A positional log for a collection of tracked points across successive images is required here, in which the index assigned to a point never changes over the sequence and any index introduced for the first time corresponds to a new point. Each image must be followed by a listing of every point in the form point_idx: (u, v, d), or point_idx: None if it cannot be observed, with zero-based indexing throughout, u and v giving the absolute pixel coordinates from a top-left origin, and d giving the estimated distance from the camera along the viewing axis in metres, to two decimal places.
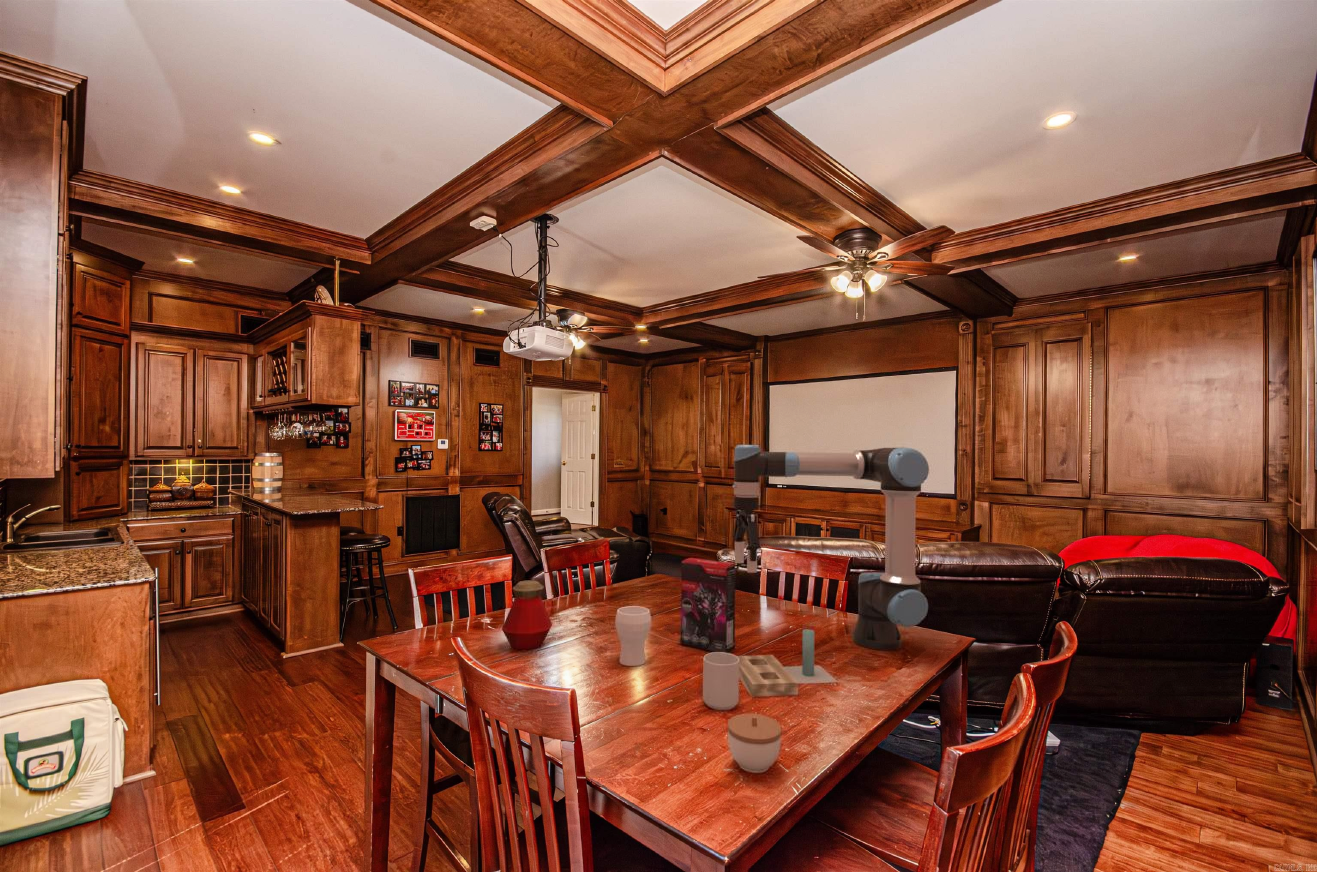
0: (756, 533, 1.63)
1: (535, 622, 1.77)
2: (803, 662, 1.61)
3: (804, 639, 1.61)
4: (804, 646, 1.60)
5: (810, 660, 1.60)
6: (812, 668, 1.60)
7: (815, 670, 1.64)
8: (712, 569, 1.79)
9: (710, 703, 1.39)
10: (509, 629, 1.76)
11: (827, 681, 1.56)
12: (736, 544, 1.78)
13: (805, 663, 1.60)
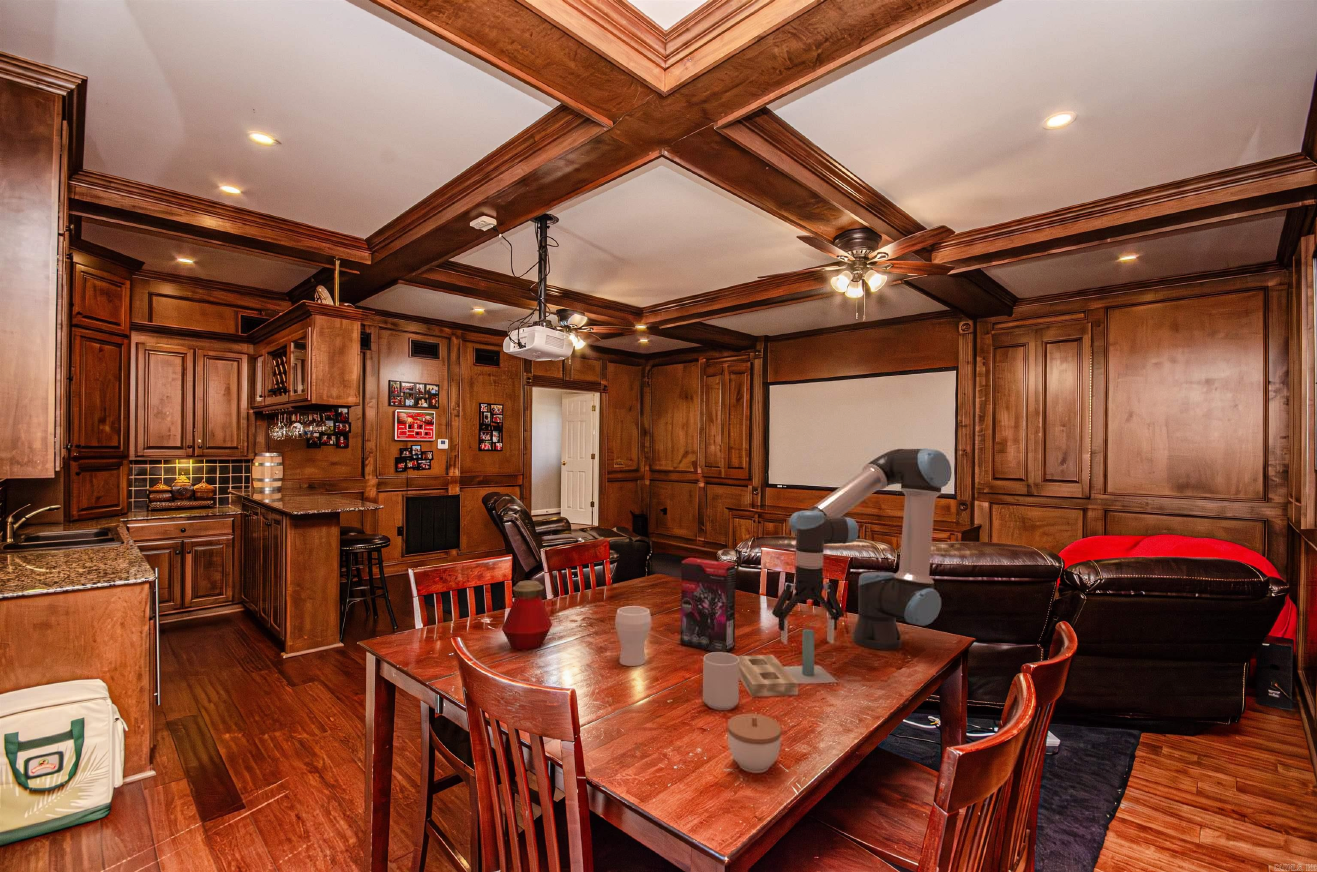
0: (780, 602, 1.60)
1: (535, 622, 1.77)
2: (803, 662, 1.61)
3: (804, 639, 1.61)
4: (804, 646, 1.60)
5: (810, 660, 1.60)
6: (812, 668, 1.60)
7: (815, 670, 1.64)
8: (712, 569, 1.79)
9: (710, 703, 1.39)
10: (509, 629, 1.76)
11: (827, 681, 1.56)
12: (828, 620, 1.63)
13: (805, 663, 1.60)
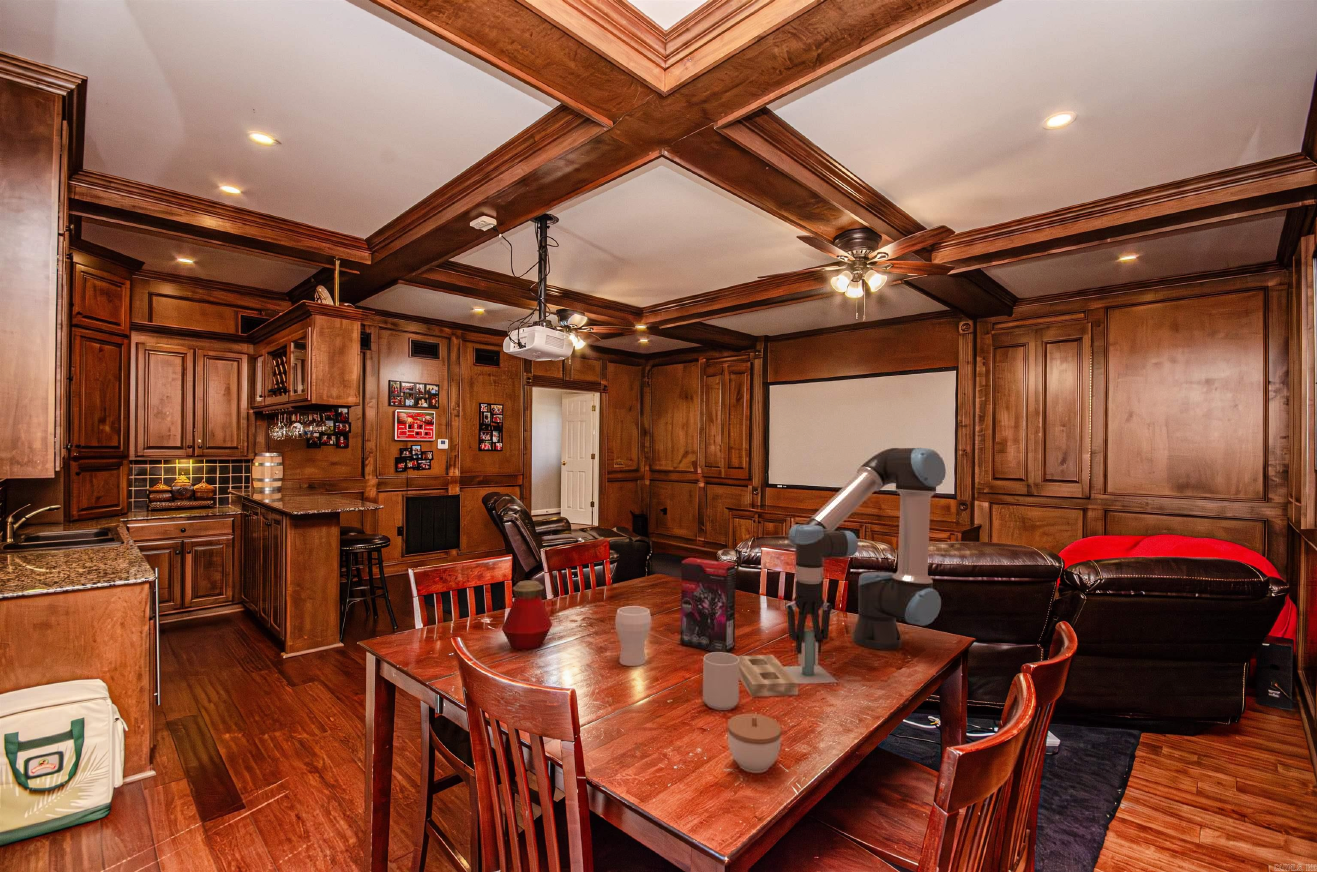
0: (790, 625, 1.60)
1: (535, 622, 1.77)
2: None
3: (804, 639, 1.61)
4: None
5: (809, 660, 1.60)
6: (812, 668, 1.60)
7: (815, 670, 1.64)
8: (712, 569, 1.79)
9: (710, 703, 1.39)
10: (509, 629, 1.76)
11: (827, 681, 1.56)
12: None
13: (805, 663, 1.60)
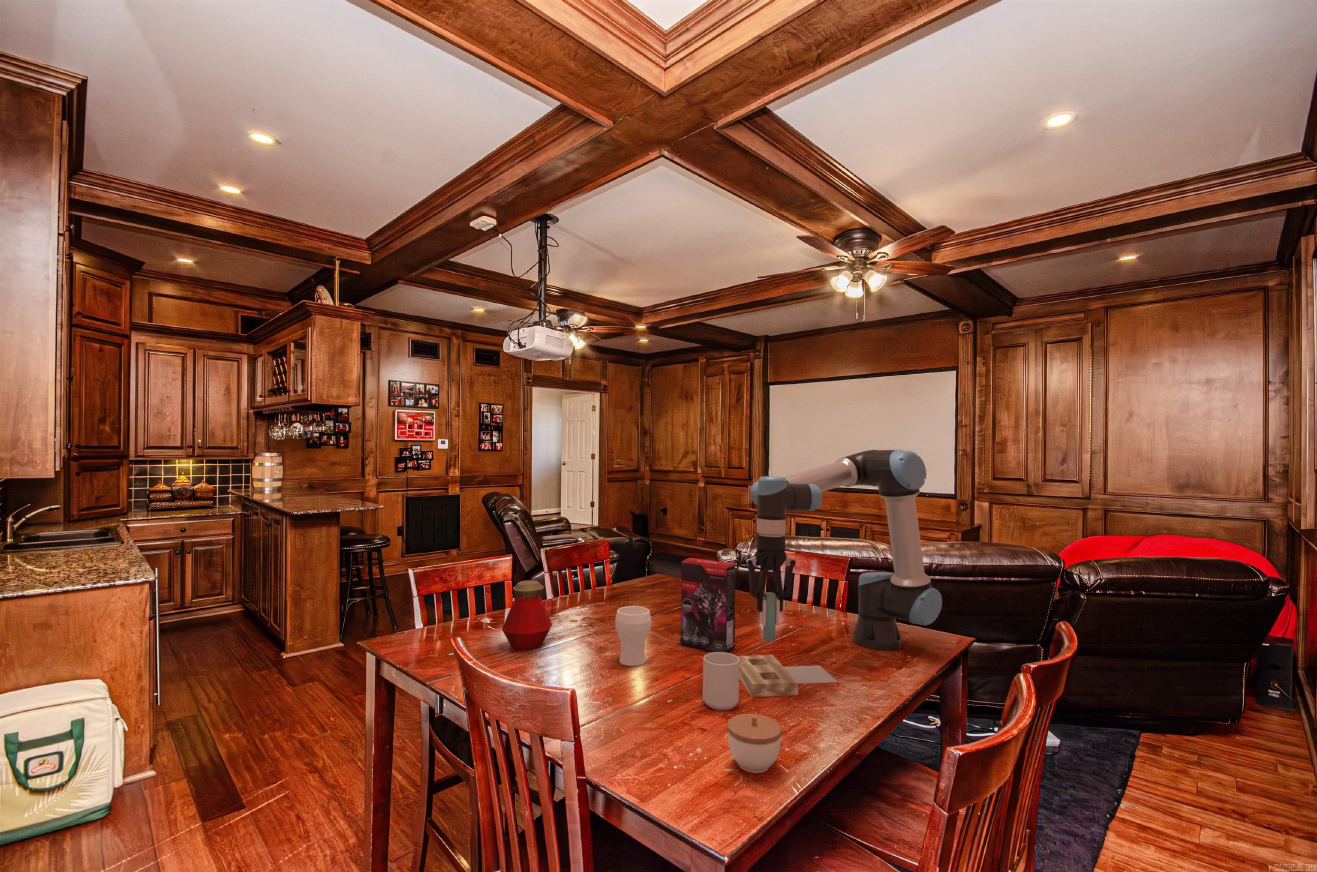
0: (751, 581, 1.51)
1: (535, 622, 1.77)
2: (764, 627, 1.51)
3: None
4: None
5: (770, 624, 1.50)
6: (773, 633, 1.50)
7: (815, 670, 1.64)
8: (712, 569, 1.79)
9: (710, 703, 1.39)
10: (509, 629, 1.76)
11: (827, 681, 1.56)
12: None
13: (766, 627, 1.51)
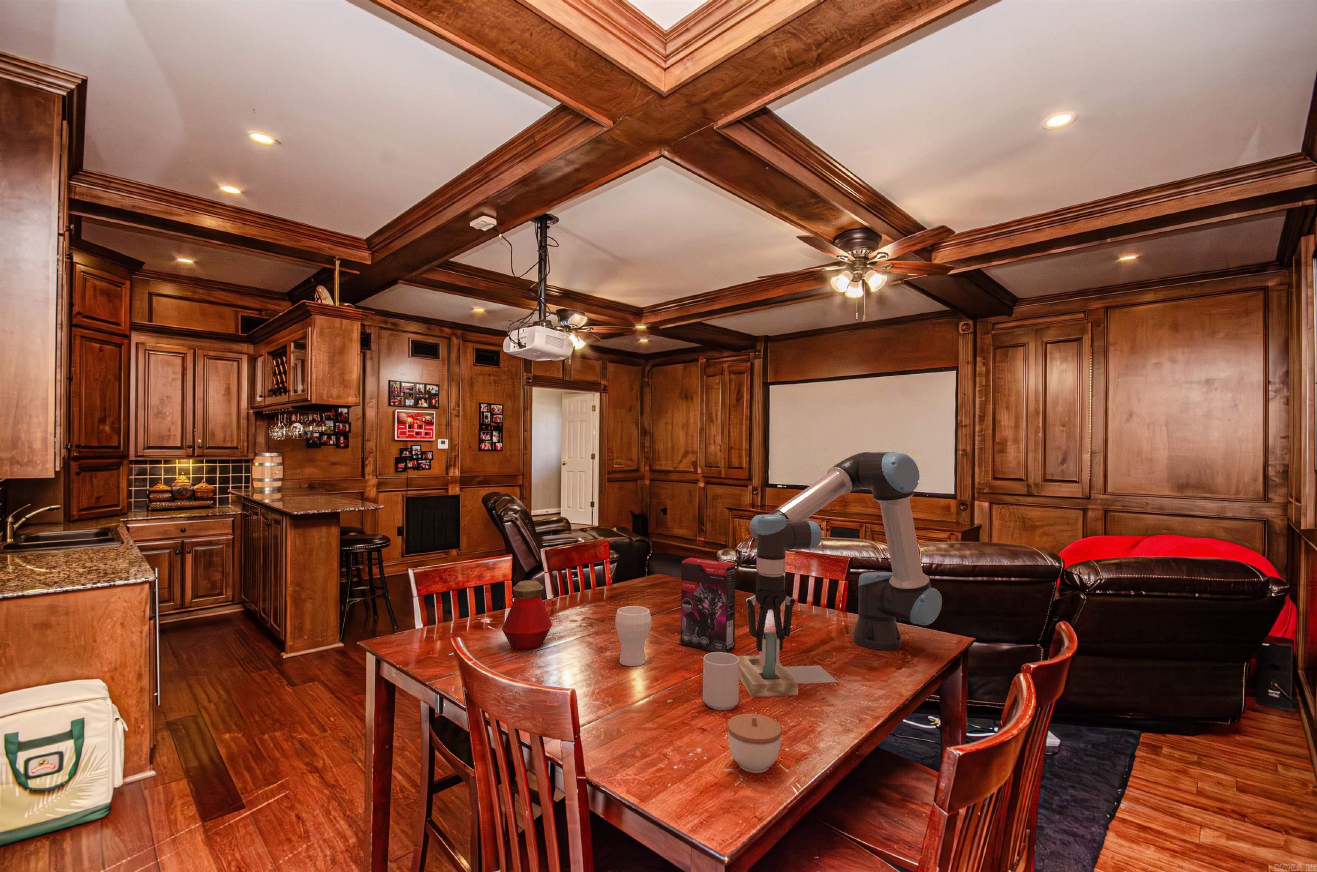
0: (750, 621, 1.50)
1: (535, 622, 1.77)
2: (763, 666, 1.51)
3: None
4: None
5: (770, 665, 1.50)
6: (773, 673, 1.50)
7: (815, 670, 1.64)
8: (712, 569, 1.79)
9: (710, 703, 1.39)
10: (509, 629, 1.76)
11: (827, 681, 1.56)
12: None
13: (765, 668, 1.50)
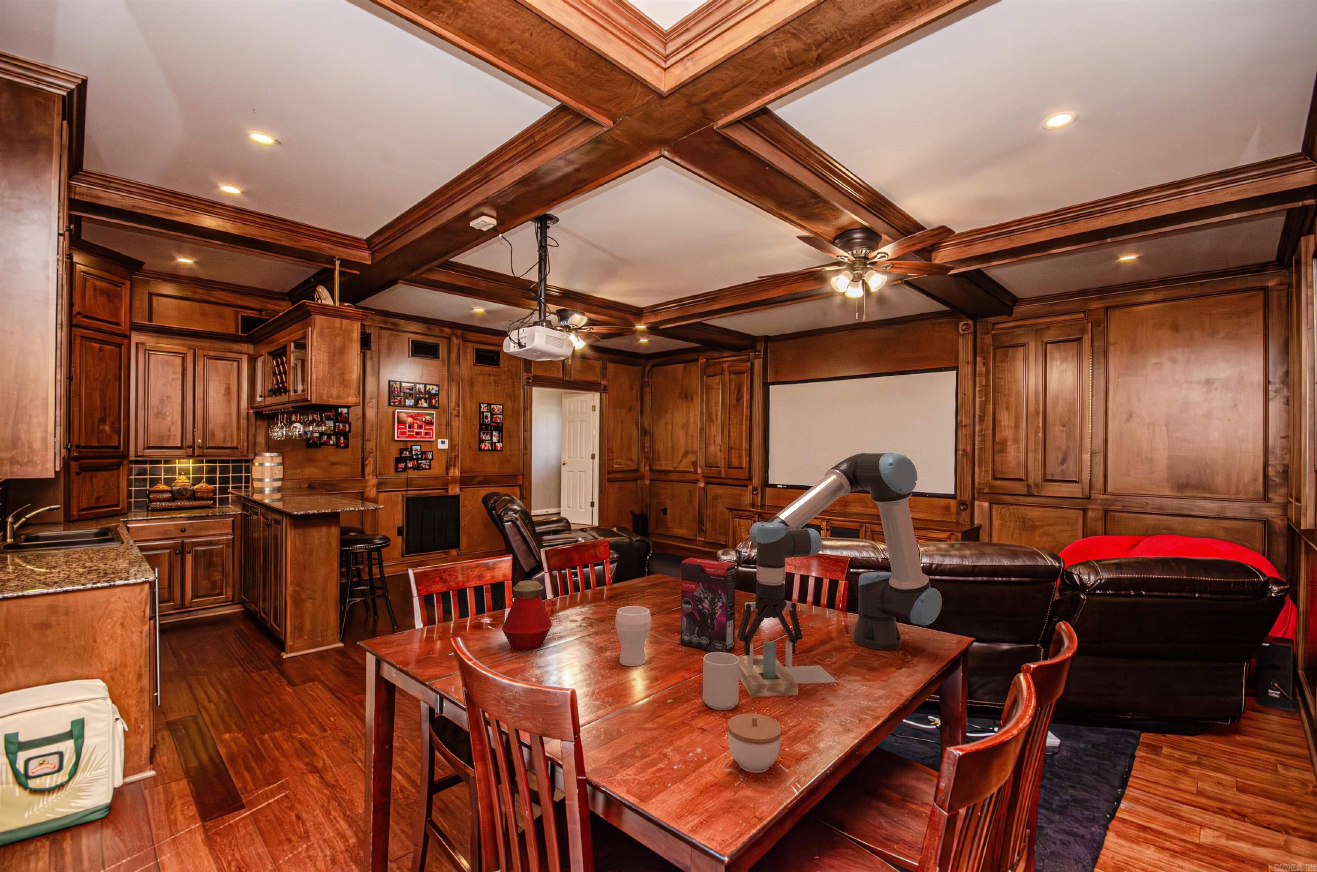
0: (742, 624, 1.50)
1: (535, 622, 1.77)
2: (764, 676, 1.51)
3: (765, 652, 1.51)
4: (765, 659, 1.51)
5: (770, 675, 1.50)
6: None
7: (815, 670, 1.64)
8: (712, 569, 1.79)
9: (710, 703, 1.39)
10: (509, 629, 1.76)
11: (827, 681, 1.56)
12: (786, 642, 1.53)
13: (765, 677, 1.50)
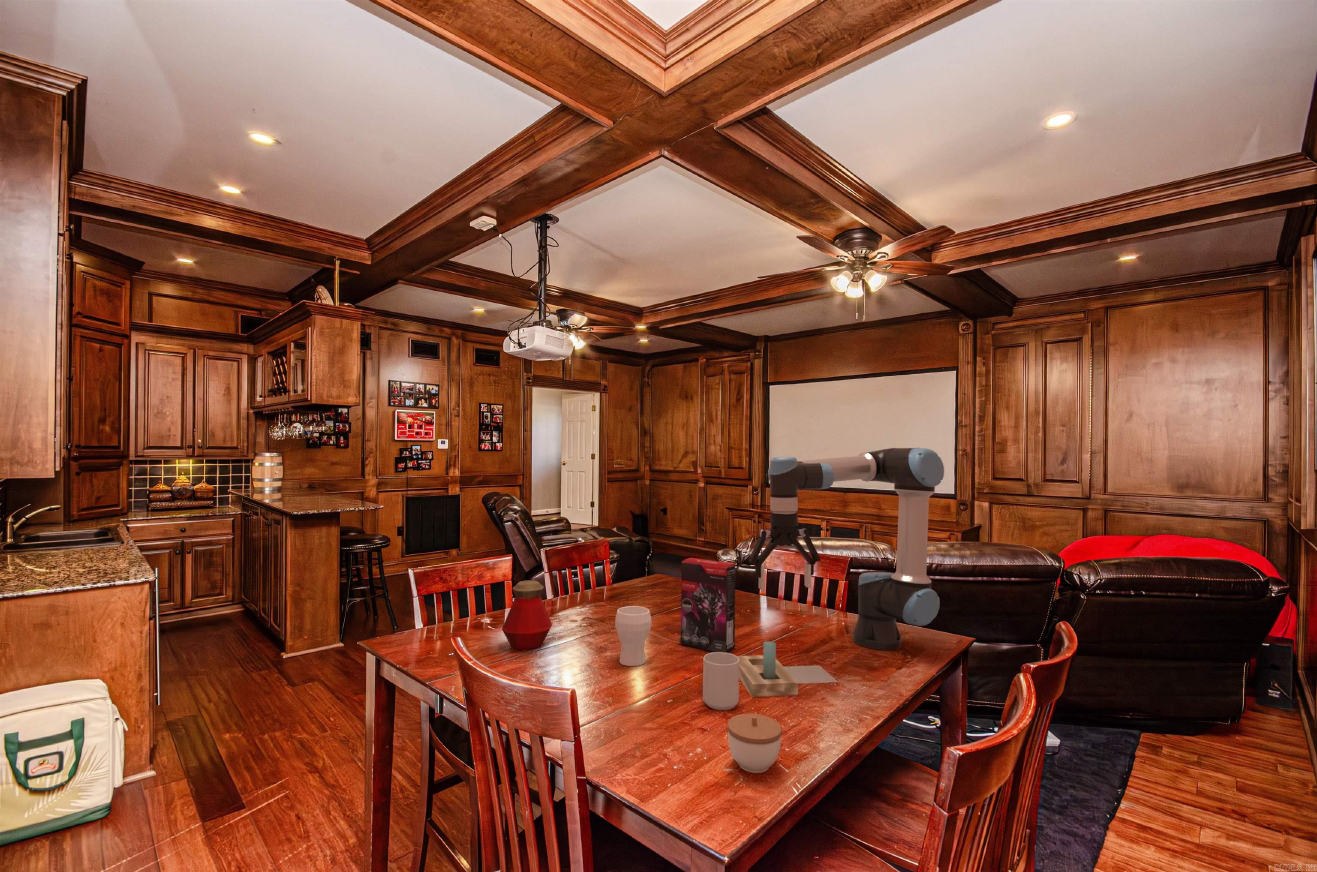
0: (755, 549, 1.59)
1: (535, 622, 1.77)
2: (764, 676, 1.51)
3: (765, 652, 1.51)
4: (765, 659, 1.51)
5: (770, 675, 1.50)
6: None
7: (815, 670, 1.64)
8: (712, 569, 1.79)
9: (710, 703, 1.39)
10: (509, 629, 1.76)
11: (827, 681, 1.56)
12: (804, 565, 1.63)
13: (765, 678, 1.50)
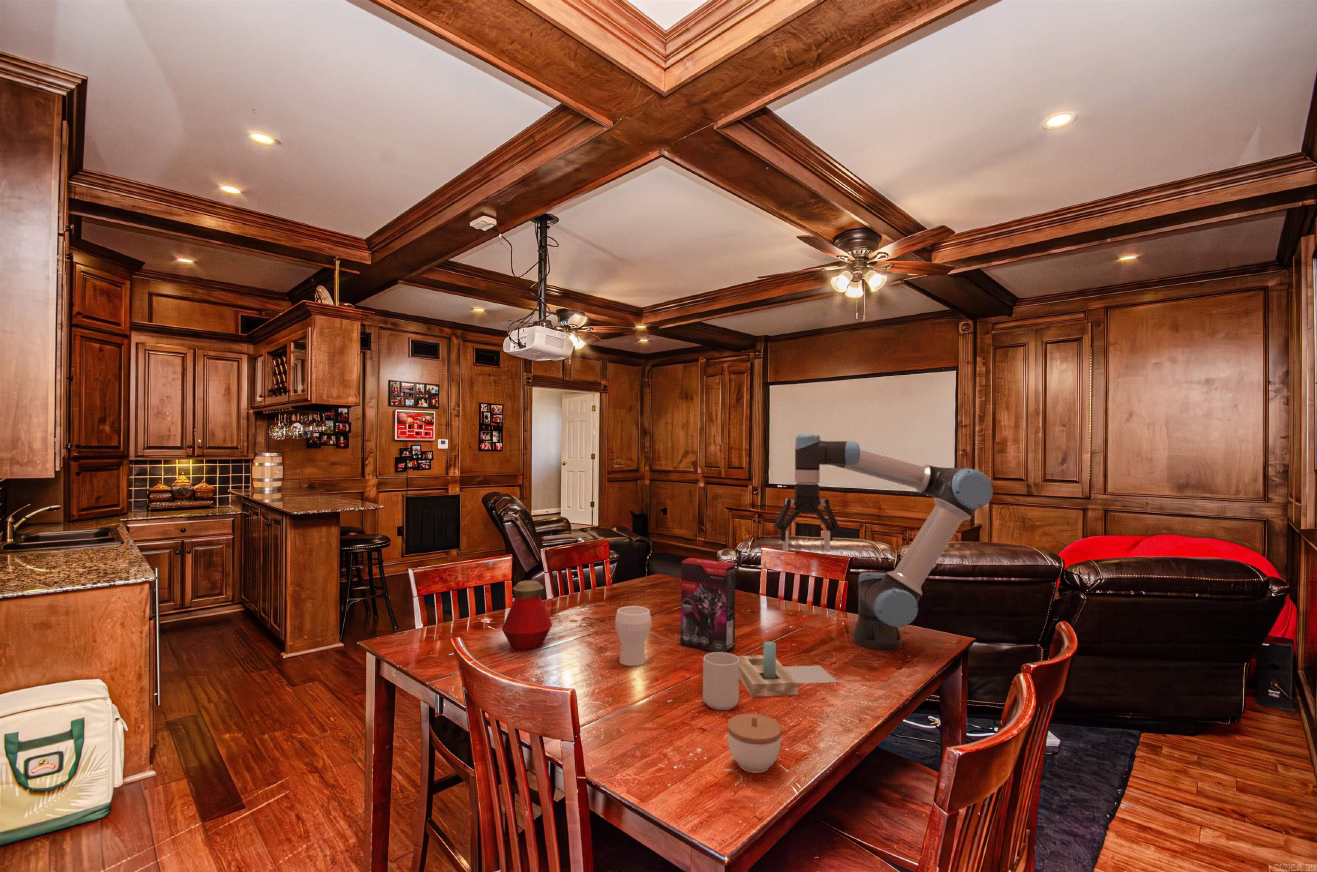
0: (781, 515, 1.78)
1: (535, 622, 1.77)
2: (764, 676, 1.51)
3: (765, 652, 1.51)
4: (765, 659, 1.51)
5: (770, 675, 1.50)
6: None
7: (815, 670, 1.64)
8: (712, 569, 1.79)
9: (710, 703, 1.39)
10: (509, 629, 1.76)
11: (827, 681, 1.56)
12: (824, 532, 1.82)
13: (765, 678, 1.50)
